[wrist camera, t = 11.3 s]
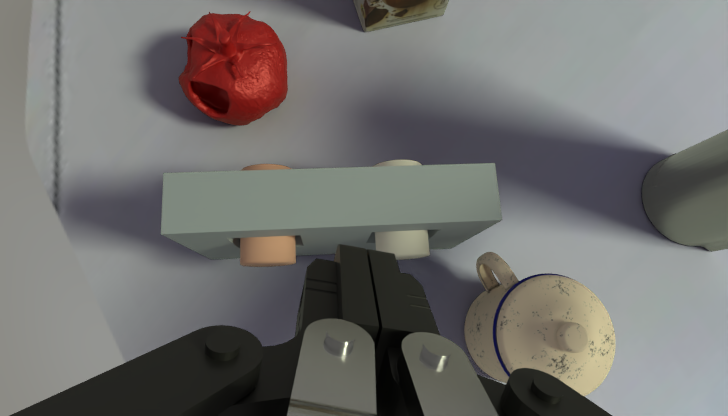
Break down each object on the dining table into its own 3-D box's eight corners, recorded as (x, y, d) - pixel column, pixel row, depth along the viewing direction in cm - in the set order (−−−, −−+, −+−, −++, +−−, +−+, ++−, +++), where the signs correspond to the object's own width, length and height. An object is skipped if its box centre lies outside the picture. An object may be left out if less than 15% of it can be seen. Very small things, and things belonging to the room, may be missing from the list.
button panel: (212, 216, 42) (163, 173, 30) (447, 207, 44) (494, 163, 32) (211, 259, 41) (160, 234, 29) (451, 248, 43) (502, 220, 31)
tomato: (267, 31, 47) (254, -39, 38) (308, 112, 46) (305, 59, 37) (173, 65, 46) (137, 0, 37) (212, 151, 44) (185, 105, 35)
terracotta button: (245, 180, 37) (235, 164, 33) (295, 179, 38) (291, 163, 34) (245, 267, 36) (235, 261, 32) (297, 265, 36) (294, 258, 32)
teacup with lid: (577, 350, 42) (668, 362, 31) (496, 405, 40) (562, 440, 29) (503, 237, 44) (564, 210, 33) (424, 286, 42) (460, 275, 31)
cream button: (368, 176, 38) (373, 160, 34) (416, 174, 38) (426, 158, 35) (373, 261, 36) (379, 254, 33) (423, 258, 37) (435, 251, 33)
